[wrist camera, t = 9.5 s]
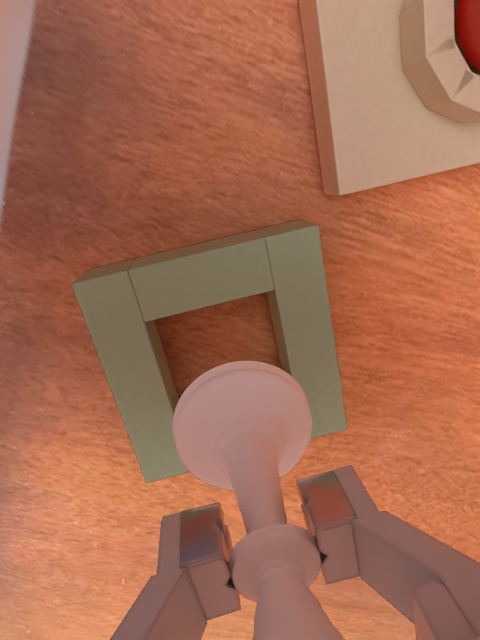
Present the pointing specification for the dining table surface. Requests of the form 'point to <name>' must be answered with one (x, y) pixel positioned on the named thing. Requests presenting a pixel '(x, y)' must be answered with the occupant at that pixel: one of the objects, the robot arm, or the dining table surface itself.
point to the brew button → (469, 30)
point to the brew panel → (389, 91)
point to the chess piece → (257, 487)
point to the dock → (202, 291)
